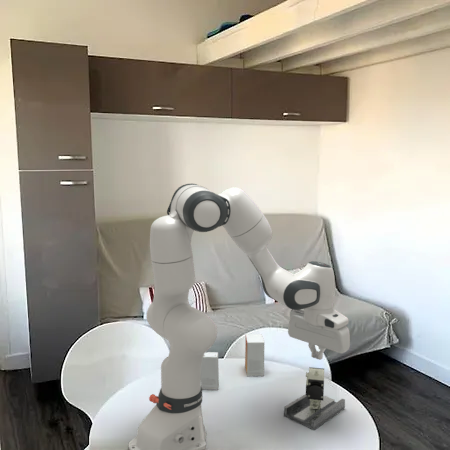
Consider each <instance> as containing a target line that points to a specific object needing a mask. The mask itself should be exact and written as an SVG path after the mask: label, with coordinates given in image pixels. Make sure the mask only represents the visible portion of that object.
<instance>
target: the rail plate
mask: <svg viewBox="0 0 450 450" xmlns="http://www.w3.org/2000/svg"><path fill="white" fill-rule="evenodd" d="M309 407H310V399H308V396H306V393H305V394H303V395H301V396H300V397H299V398H297V399H295V400H293V401H292V402H290V403H288V404H287V405H285V406H284V407H283V417H285V418H287V419H289V420H291V421H293V422H296V423H298V424H300V425H302V426H304V427H307V428H309V429H311V430H313V431H316V430H317V429H318V428H320V427H321V426H322V425H324V424H325V423H326V422H328V421H329V420H330V419H333V418H334V417H335V416H336V415H338V414H339V413H341V412H342V411H343V410H344V408H345V407H346V399H344V398H341V399H340V400H338V401H337V402H336V401H335V399H334V398H331V397H329V396H326V395H323V401H322V400H321V409H320V410H318V409H313V408H312V409H310V408H309ZM341 410H342V411H341ZM340 411H341V412H340ZM337 413H338V414H337Z"/></svg>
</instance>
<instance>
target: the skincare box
mask: <svg viewBox="0 0 450 450" xmlns="http://www.w3.org/2000/svg"><path fill="white" fill-rule="evenodd" d="M219 370H220V369H219V352H218V351H217V352H215V351H213V352H211V351H208V352H207V351H206V352H205V353H204V356H203V359H202V363H201V387H202V391H203V390H207V391H209V390H212V391H213V390H215V391H216V390H219V387H220V379H219V377H220V376H219V374H220V373H219Z"/></svg>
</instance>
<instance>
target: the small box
mask: <svg viewBox="0 0 450 450" xmlns="http://www.w3.org/2000/svg"><path fill="white" fill-rule="evenodd" d="M244 337H245V343H244V344H245V346H244V348H245V353H244V355H245V356H244V362H245V363H244V367H245V372H246V377H264V376H265V340H264V336H263V333H248V334H247V333H246V334H245V336H244Z"/></svg>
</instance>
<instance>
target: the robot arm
mask: <svg viewBox="0 0 450 450" xmlns="http://www.w3.org/2000/svg"><path fill="white" fill-rule="evenodd" d="M166 214H167V215H163V216H159V217H158V218H156V219H155V220H153V222H152V224H151V226H150V229H149V230H150V232H149V234H150V235H149V252H150V261H151V267H152V277H153V283H154V288H153V289H154V291H153V299H152V302H151V303H150V304H149V306H148V308H147V311H146V320H147V323H148V325H149V326H150V328H152V330H154V332H155V333H156V334H157V335H159V336H161V337H162V338H164V339H166V340H167V341H168V343H169V346H170V347H169V353H168V356H166V358H164V359H163V360H162V362H161V365H160V366H161V367H160V380H161V381H160V383H161V384H160V385H161V388H160V389H159V391H158V392H159V393H158V396H157V395H156V394H153V393H152V394H150V395H149V397H148V399H149V402H151V403H153V404H155V405H154V407H153V408H152V409H151V410H150V411H149V413H148V414H147V415H146V416H145V418H143V419H142V421H141V422H140V423H139V424H138V427H137V428H138V429H137V432H136V437H134V438H133V439H132V440H130V441H129V442H128V446H127V447H128V450H205V449H207V444H206V443H207V442H206V439H207V435H208V434H207V430H206V427H205V424H204V418H203V417H204V416H203V409H202V403H203V389H202V387H201V363H202V359H203V356H204V353H205V352H207V351H209V350H210V349H211V348H212V347H213V346H214V344H215V343H216V340H217V337H218V327H217V324H216V323H215V321H214V320H213V319H212V318H211V317H210V316H209V315H208V314H206V312H204V311H202V310H200V309H197V308H196V307H194V306H192V305H191V304H190V302H189V293H190V290H191V289H192V288H193V287H194V285H195V283H196V271H195V264H194V256H193V249H192V237H193V234H194V232H199V233H207V232H211V231H214V230H215V229H217V228H219V227H223V228H224V230H225V231H226V232H227V234H228V235H229V237H230V238H231V240H232V241H233V242H234V243H235V245H237V247H238V248H239V249H240V250H241V251H242V252H244V254H246V257H248V259H249V261H250V262H251V264H252V265H253V267H254V268H255V270H256V271H257V273H258V275H259V277H260V280H261V286H262V289H263V291H264V293H265V295H266V296H267V297H268V298H270V299H272V300H275V301H276V302H278V303H279V304H281V305H282V306H284V307H286V308H288V309H290V311H289V320H288V328H287V334H288V336H289V338H293V339H296V340H297V341H298V340H299V341H302V342H305V343H308V348H309V350H310V352H311V358H313V359H316V360H322V359H323V357H324V355H323V354H324V353H325V351H326V350H329V351H333V352H336V353H338V354H344V353H346V352H348V351H349V349H350V348H351V347H350V346H351V336H350V334H351V332H350V329H349V327H348V326H347V325H349V322H350V321H349V318H348V317H347V316H345V315H344V314H342V313H341V312H339V311H338V310H336V308H334V306H335V305H334V302H333V301H334V300H333V299H334V298H333V297H334V294H335V273H334V272H335V271H334V269H333V267H332V266H331V265H329V264H327V263H324V262H321V261H313V260H312V261H309V262H307V263H306V265H305V266H304V267H302V269H300V270H299V271H297V272H296V273H292V272H291V271H289V270H288V269H286V268H284V267H283V266H280V265H279V264H278V263H277V262H276V259H275V258H274V257H273V255H272V253H271V252H270V250H269V248H268V247H267V246H268V245H269V244H270V242H271V240H272V236H273V229H272V227H271V225H270V222H269V220H268V219H267V217H266V216H265V214H264V213H263V211H262V210H261V209H260V207H259V206H258V204H257V203H256V201H254V200H253V198H252V197H251V196H250V195H248V194H247V193H246V191H244V190H243V189H242V188H240V187H236V186H235V187H229V188H226V189H224V190H223V191H222V192H220V193H218V194H217V193H215V192H213V191H212V190H210V189H209V188H207V187H206V186H202V185H199V184H197V183H185V184H183V185H182V184H181V186H179V187H178V188H177V189H176V190H175V191H174V193H173V195H172V196H171V200H170V202H169V206H168V208H167V211H166ZM316 346H317V347H318V350H317V348H316Z"/></svg>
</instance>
